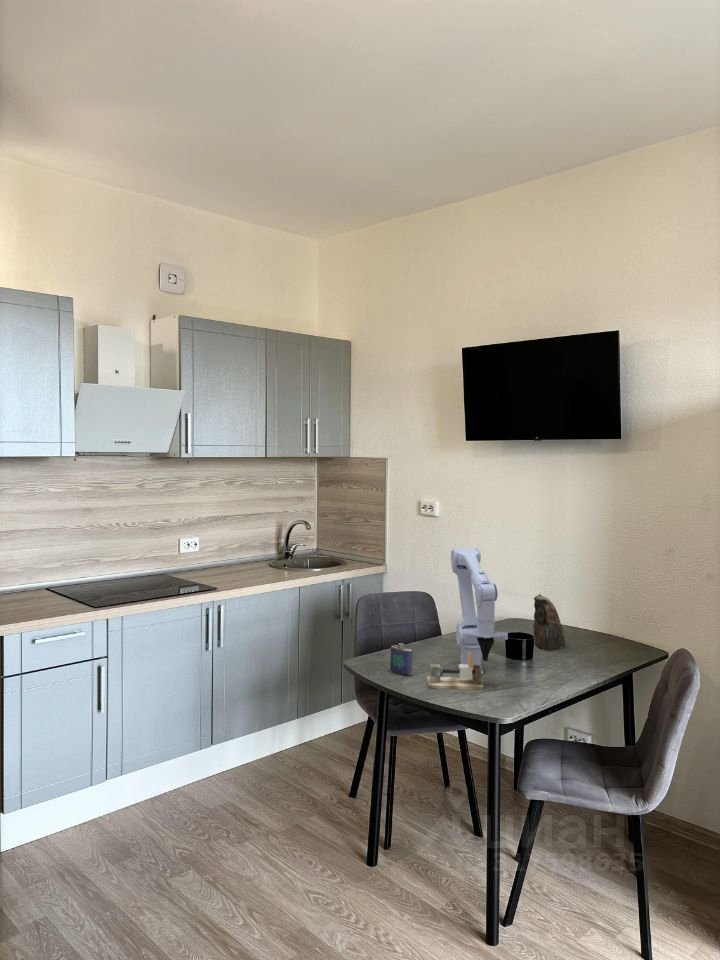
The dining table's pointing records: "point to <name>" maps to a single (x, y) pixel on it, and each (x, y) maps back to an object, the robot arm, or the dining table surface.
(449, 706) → the dining table surface
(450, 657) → the dining table surface
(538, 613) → the owl
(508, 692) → the dining table surface
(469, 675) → the sleeve
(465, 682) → the board
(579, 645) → the dining table surface
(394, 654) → the flask
